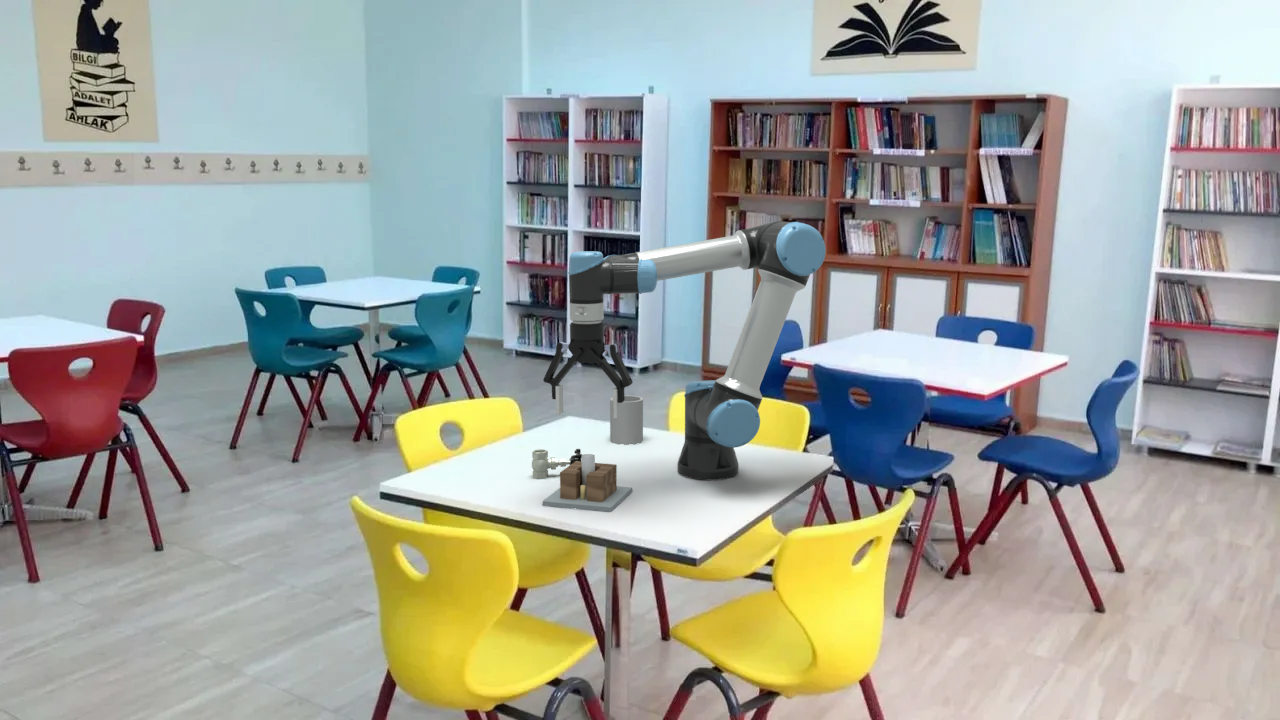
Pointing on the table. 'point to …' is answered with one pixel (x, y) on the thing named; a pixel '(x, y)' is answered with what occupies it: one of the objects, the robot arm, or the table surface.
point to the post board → (589, 504)
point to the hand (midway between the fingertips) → (588, 415)
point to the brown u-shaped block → (589, 482)
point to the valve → (549, 462)
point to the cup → (627, 421)
